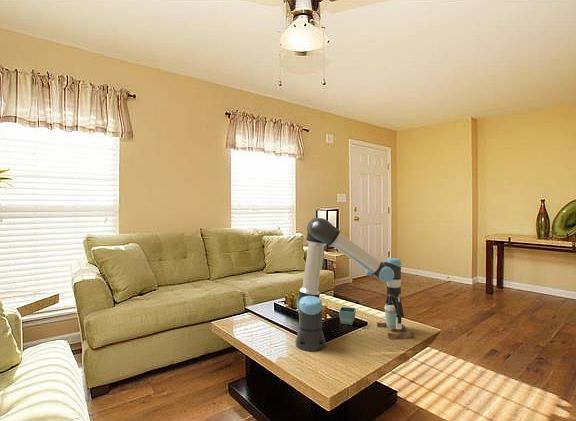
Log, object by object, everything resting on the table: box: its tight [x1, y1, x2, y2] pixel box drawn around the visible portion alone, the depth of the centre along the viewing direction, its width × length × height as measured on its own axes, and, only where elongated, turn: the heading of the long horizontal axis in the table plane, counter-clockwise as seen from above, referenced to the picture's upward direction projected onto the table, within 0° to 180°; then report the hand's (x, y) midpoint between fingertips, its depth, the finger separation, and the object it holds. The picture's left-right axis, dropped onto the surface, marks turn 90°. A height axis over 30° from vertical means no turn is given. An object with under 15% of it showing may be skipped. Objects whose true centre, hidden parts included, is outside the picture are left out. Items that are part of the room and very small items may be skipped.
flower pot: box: [338, 306, 357, 326], centre depth 190 cm, size 9×9×9 cm
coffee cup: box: [384, 303, 397, 329], centre depth 181 cm, size 8×8×12 cm
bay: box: [376, 321, 415, 340], centre depth 178 cm, size 14×18×2 cm
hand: (393, 324), depth 178 cm, fingers open, 13 cm apart
